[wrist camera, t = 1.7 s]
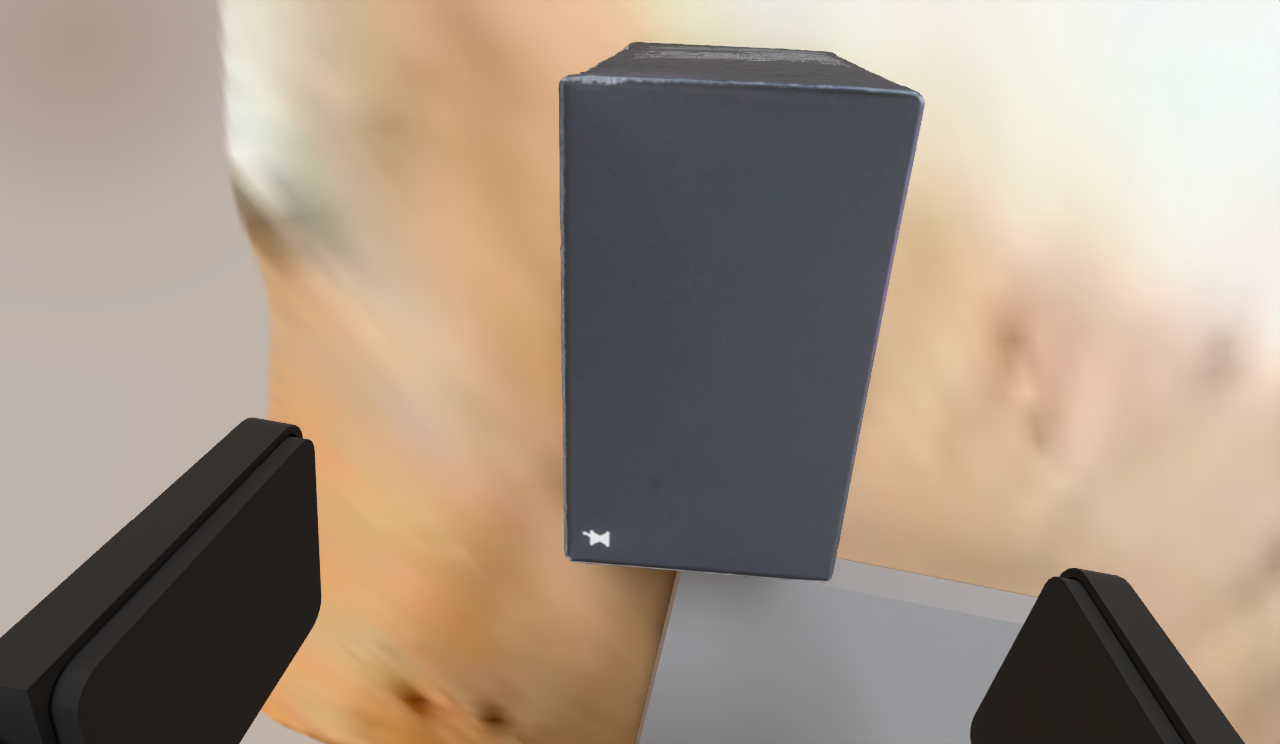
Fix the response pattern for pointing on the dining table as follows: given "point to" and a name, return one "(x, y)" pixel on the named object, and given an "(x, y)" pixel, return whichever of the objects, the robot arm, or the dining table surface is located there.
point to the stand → (827, 658)
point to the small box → (722, 300)
